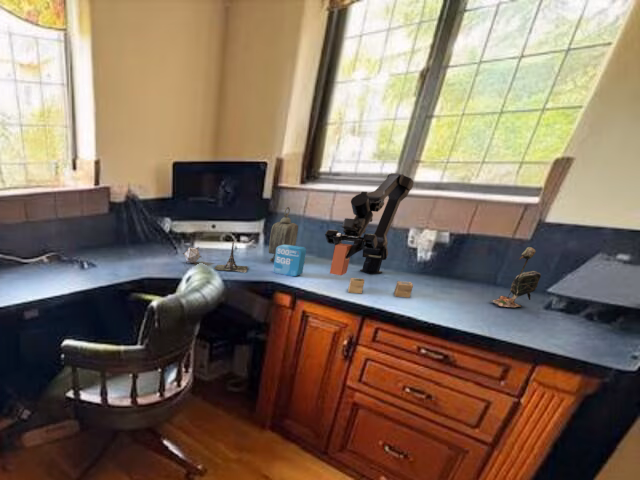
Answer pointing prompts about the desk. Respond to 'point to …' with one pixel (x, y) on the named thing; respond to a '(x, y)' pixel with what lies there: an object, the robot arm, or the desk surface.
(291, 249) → the data package
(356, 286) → the maple cube
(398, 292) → the maple cube
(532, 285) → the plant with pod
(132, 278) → the desk surface
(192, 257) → the game die
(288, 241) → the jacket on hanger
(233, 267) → the eiffel tower figurine
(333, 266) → the orange rectangular block
